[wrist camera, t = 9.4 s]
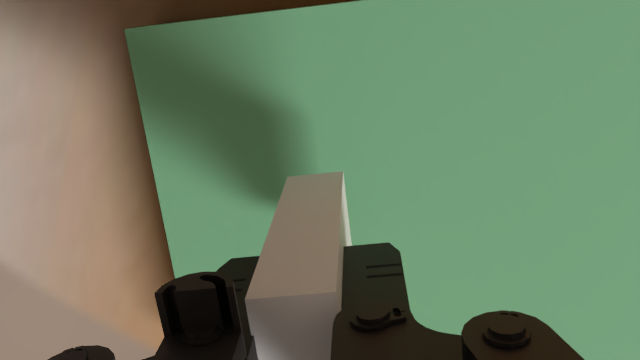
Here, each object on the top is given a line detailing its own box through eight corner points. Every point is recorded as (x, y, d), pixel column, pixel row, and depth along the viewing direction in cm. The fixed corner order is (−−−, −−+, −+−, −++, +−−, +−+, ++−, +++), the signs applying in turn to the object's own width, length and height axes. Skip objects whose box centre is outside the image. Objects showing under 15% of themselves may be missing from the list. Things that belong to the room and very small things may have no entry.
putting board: (152, 24, 19) (76, 36, 14) (893, -65, 17) (1129, -90, 12) (215, 350, 23) (172, 458, 17) (837, 307, 21) (1001, 413, 15)
